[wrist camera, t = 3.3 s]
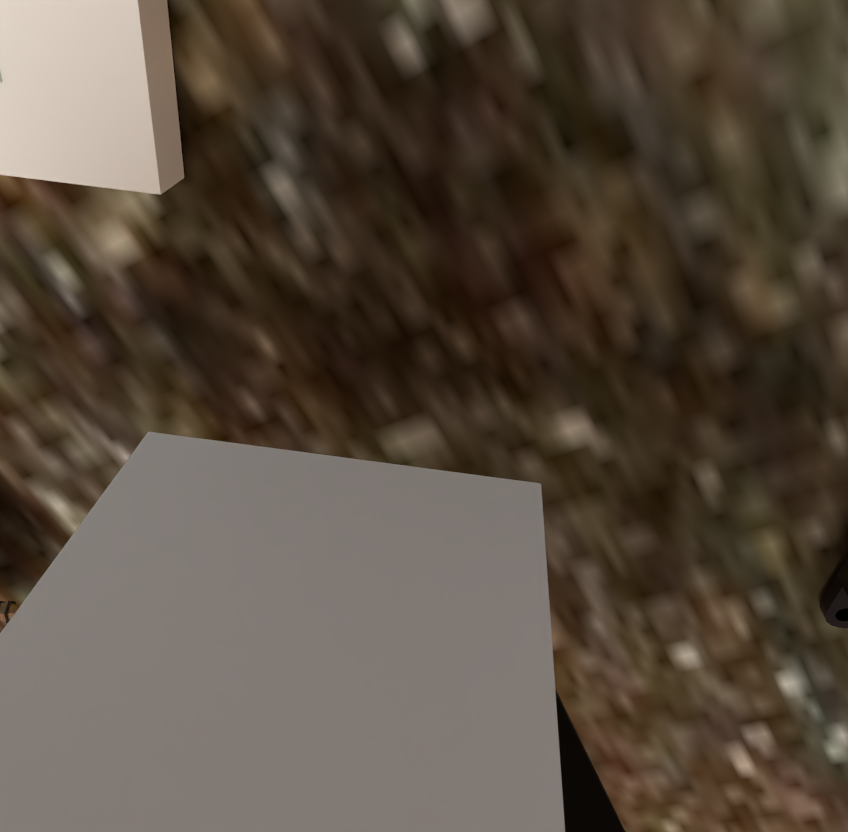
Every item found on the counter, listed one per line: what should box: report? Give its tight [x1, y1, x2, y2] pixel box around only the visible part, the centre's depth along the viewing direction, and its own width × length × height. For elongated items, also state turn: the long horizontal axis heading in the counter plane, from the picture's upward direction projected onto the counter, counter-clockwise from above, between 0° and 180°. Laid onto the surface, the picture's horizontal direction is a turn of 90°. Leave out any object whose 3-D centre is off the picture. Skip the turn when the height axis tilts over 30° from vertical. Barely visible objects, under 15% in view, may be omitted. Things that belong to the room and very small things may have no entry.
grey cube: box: [0, 432, 565, 832], centre depth 8 cm, size 5×5×5 cm
